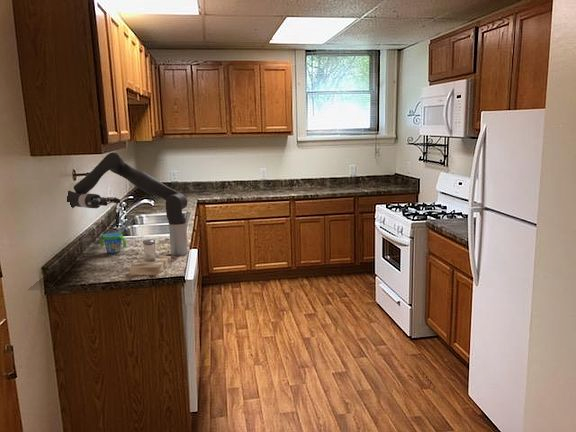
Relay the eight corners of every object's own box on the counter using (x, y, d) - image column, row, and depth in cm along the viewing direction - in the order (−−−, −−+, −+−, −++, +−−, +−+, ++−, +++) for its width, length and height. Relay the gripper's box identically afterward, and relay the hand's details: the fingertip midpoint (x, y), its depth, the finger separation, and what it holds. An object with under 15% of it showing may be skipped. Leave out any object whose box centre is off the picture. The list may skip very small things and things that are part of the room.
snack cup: (131, 251, 263) (129, 233, 261) (118, 255, 253) (116, 237, 251) (110, 248, 269) (108, 232, 267) (96, 253, 259) (94, 235, 257)
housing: (146, 258, 229) (145, 239, 227) (158, 258, 228) (156, 239, 227) (142, 262, 223) (140, 242, 221) (153, 262, 223) (152, 242, 221)
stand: (144, 263, 236) (143, 255, 235) (171, 263, 235) (170, 255, 234) (130, 274, 218) (129, 265, 218) (158, 274, 217) (158, 265, 216)
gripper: (78, 195, 232) (101, 196, 226) (100, 191, 245) (123, 193, 238) (79, 210, 234) (103, 211, 227) (101, 205, 246) (124, 207, 240)
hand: (113, 202), depth 233 cm, fingers open, 8 cm apart
